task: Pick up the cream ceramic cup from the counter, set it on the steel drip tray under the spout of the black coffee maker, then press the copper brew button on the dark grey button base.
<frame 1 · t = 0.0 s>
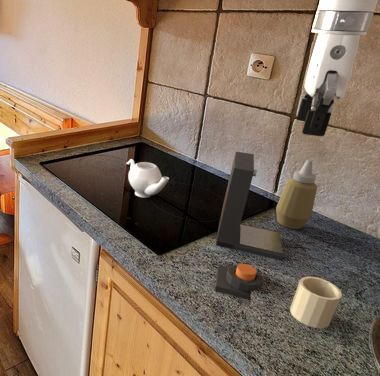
hand: (309, 127, 72), 33 cm above the worktop, tool pointing down, fingers open, 9 cm apart
teapot: (142, 194, 121), on the worktop
cup: (306, 322, 74), on the worktop
coffee maker: (247, 240, 99), on the worktop
squeeze bottle: (289, 224, 107), on the worktop
brew button: (245, 272, 81), point 3 cm above the worktop, slide at 0.1 cm
dark grey button base: (241, 286, 83), on the worktop
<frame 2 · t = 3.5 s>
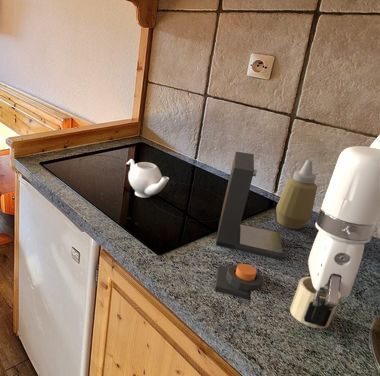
hand: (311, 309, 72), 3 cm above the worktop, tool pointing down, fingers closed on cup, 6 cm apart
cup: (306, 322, 74), on the worktop, touching gripper
everything else where it was.
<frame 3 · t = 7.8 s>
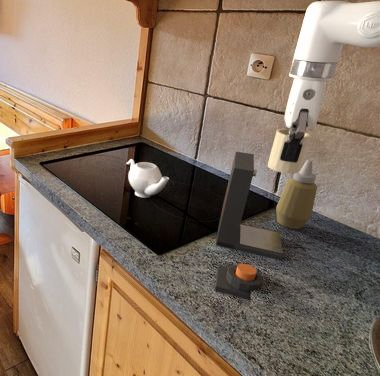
hand: (287, 155, 87), 23 cm above the worktop, tool pointing down, fingers closed on cup, 6 cm apart
cup: (282, 168, 88), point 20 cm above the worktop, touching gripper
everything else where it was.
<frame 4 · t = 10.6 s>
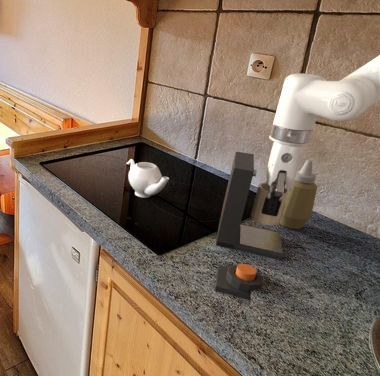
hand: (268, 207, 94), 10 cm above the worktop, tool pointing down, fingers closed on cup, 6 cm apart
cup: (264, 218, 95), point 7 cm above the worktop, touching gripper
everything else where it was.
when the fingers open (4 cm above the worktop, at t = 12.4 s): cup stays where it is, resting on coffee maker.
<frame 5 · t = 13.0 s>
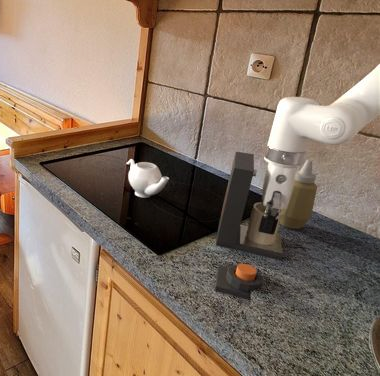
hand: (265, 223, 96), 6 cm above the worktop, tool pointing down, fingers open, 9 cm apart
cup: (259, 237, 97), point 1 cm above the worktop, touching coffee maker
everything else where it was.
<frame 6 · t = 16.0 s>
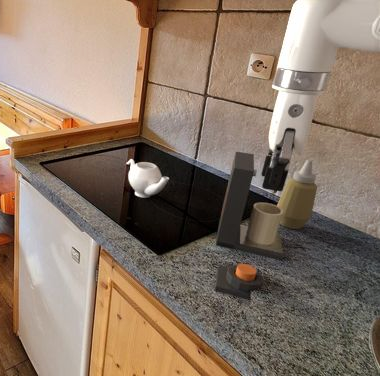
hand: (271, 182, 73), 23 cm above the worktop, tool pointing down, fingers open, 5 cm apart
nothing on the worktop moved.
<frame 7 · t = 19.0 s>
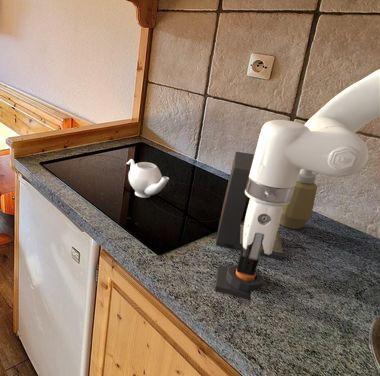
hand: (245, 271, 81), 4 cm above the worktop, tool pointing down, fingers closed
brew button: (245, 275, 82), point 3 cm above the worktop, slide at -0.6 cm, touching gripper
everything else where it was.
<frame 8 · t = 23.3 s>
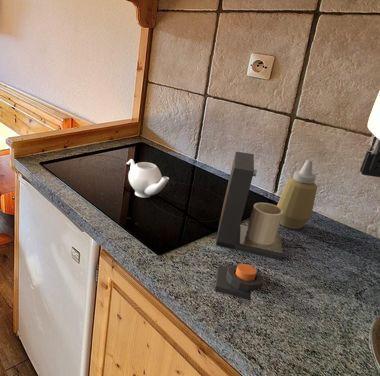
hand: (370, 174, 73), 25 cm above the worktop, tool pointing down, fingers closed
brew button: (245, 272, 81), point 3 cm above the worktop, slide at 0.1 cm
everything else where it was.
at the end: cup 1.1 cm from the target spot on the coffee maker, point 1.4 cm above the coffee maker's base; cup tilted 0°; brew button pushed in 1.1 cm at the most during the clip, back to where it started at the end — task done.
